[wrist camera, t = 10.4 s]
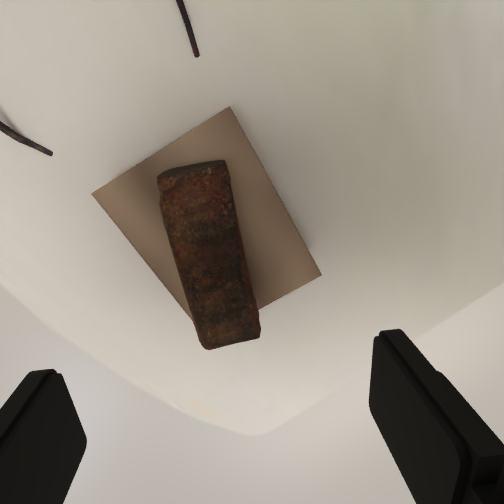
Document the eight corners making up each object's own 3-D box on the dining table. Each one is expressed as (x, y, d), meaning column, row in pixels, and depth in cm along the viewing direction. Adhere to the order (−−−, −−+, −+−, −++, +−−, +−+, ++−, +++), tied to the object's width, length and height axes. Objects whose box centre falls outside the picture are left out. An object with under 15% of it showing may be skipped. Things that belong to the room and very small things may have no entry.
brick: (256, 301, 24) (265, 340, 20) (203, 312, 24) (201, 354, 20) (226, 155, 20) (228, 164, 16) (162, 168, 20) (147, 181, 16)
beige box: (227, 108, 24) (229, 106, 19) (304, 249, 28) (321, 274, 24) (114, 179, 25) (91, 193, 20) (207, 304, 30) (206, 338, 25)
